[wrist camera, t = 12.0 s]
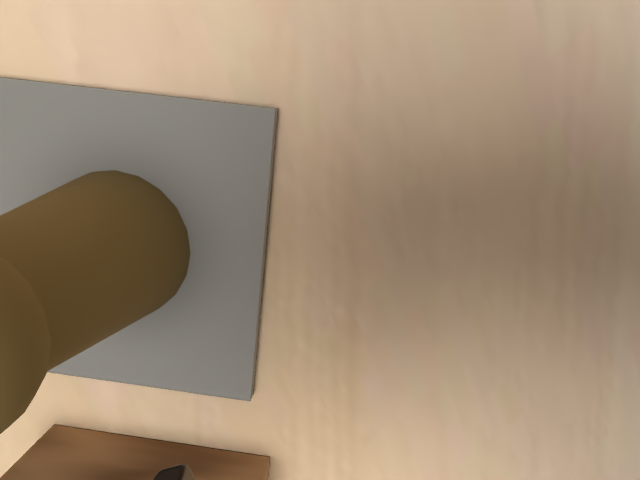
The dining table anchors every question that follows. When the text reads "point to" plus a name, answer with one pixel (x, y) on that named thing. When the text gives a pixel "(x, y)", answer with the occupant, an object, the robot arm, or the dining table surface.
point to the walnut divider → (127, 458)
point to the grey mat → (187, 196)
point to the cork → (81, 274)
